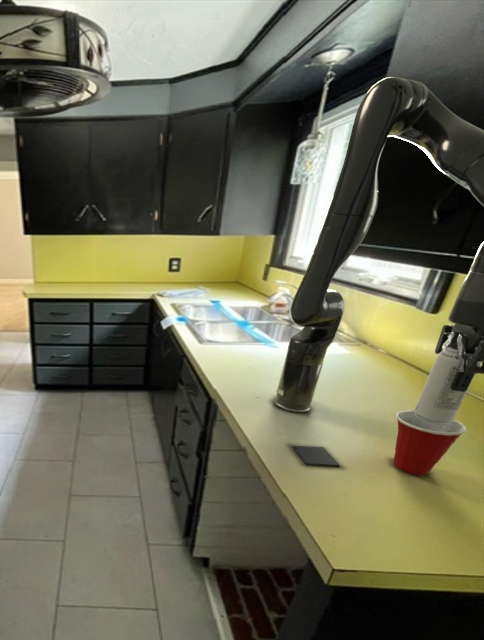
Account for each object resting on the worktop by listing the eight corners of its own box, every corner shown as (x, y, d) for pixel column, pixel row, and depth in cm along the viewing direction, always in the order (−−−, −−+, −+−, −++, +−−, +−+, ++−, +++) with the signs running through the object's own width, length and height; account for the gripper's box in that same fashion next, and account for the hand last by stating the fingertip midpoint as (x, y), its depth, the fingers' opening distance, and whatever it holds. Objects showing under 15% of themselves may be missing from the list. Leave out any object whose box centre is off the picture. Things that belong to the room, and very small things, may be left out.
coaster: (292, 447, 86) (292, 445, 86) (322, 448, 86) (323, 447, 86) (306, 464, 80) (306, 463, 80) (339, 466, 80) (339, 465, 79)
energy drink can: (436, 413, 77) (467, 346, 71) (459, 427, 72) (494, 356, 66) (405, 411, 78) (433, 344, 72) (425, 425, 73) (457, 354, 67)
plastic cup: (387, 447, 87) (405, 402, 82) (447, 470, 79) (472, 422, 74) (370, 463, 81) (389, 416, 76) (434, 490, 73) (460, 439, 68)
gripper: (544, 307, 58) (496, 402, 64) (488, 293, 70) (452, 373, 77) (483, 304, 60) (443, 395, 67) (439, 291, 72) (409, 369, 79)
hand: (448, 383), depth 72 cm, fingers closed on energy drink can, 6 cm apart
